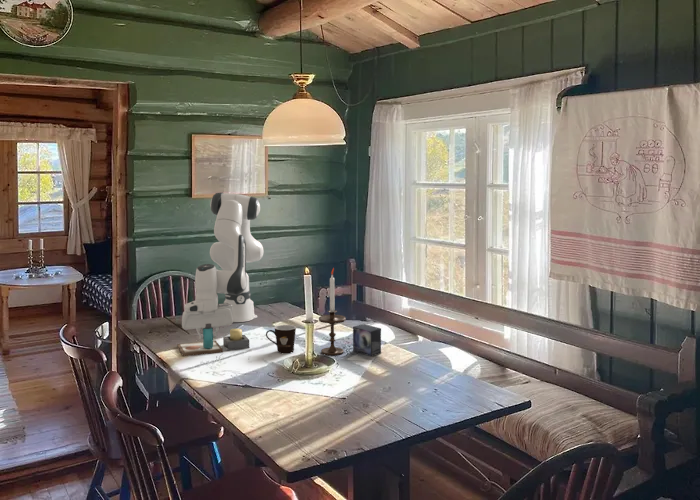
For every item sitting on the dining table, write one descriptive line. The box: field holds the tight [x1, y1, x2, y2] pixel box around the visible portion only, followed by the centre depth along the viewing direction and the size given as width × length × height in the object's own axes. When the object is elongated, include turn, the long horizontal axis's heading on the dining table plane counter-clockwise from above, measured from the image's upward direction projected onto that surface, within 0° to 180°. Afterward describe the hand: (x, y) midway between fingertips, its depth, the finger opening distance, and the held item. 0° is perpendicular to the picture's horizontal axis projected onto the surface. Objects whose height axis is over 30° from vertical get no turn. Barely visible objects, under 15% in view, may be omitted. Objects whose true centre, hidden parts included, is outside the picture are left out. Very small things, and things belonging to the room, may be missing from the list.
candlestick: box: [318, 267, 347, 357], centre depth 271 cm, size 11×11×35 cm
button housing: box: [222, 334, 250, 351], centre depth 283 cm, size 9×9×4 cm
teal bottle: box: [202, 324, 214, 348], centre depth 274 cm, size 4×4×10 cm
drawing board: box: [176, 339, 224, 357], centre depth 278 cm, size 15×16×1 cm
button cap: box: [229, 328, 243, 341], centre depth 282 cm, size 5×5×4 cm
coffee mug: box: [265, 324, 297, 355], centre depth 275 cm, size 12×9×10 cm
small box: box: [352, 323, 382, 357], centre depth 273 cm, size 11×6×10 cm, turn 44°
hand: (207, 338), depth 275 cm, fingers closed on teal bottle, 4 cm apart
